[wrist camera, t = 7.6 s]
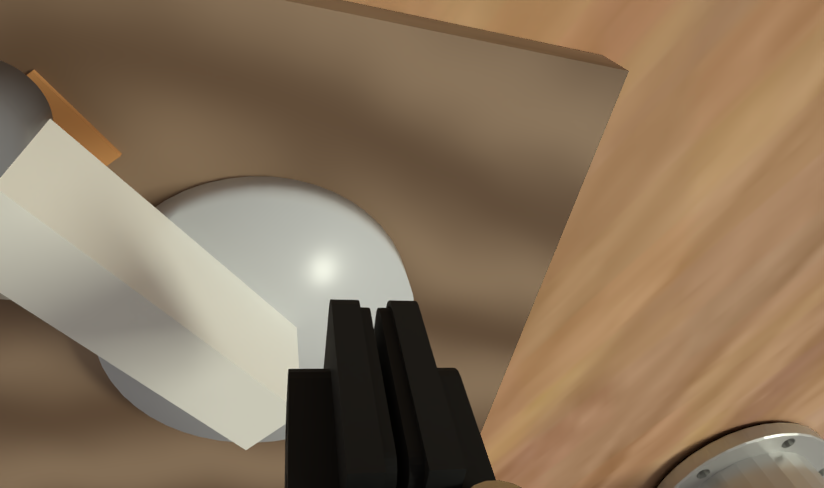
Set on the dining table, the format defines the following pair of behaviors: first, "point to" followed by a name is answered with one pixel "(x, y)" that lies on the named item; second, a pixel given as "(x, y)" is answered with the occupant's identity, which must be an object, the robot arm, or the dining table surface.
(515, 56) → the dial plate
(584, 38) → the dining table surface
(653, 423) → the dining table surface
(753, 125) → the dining table surface
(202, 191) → the dial
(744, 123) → the dining table surface
